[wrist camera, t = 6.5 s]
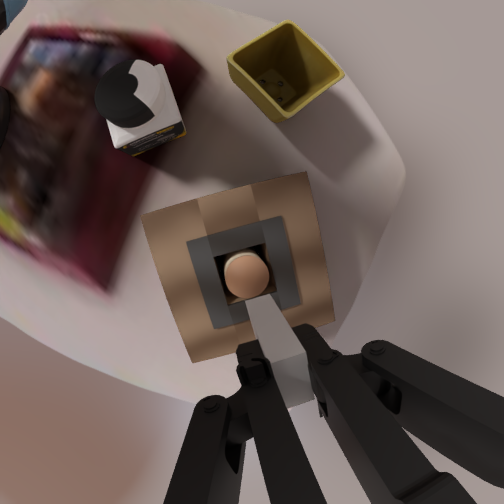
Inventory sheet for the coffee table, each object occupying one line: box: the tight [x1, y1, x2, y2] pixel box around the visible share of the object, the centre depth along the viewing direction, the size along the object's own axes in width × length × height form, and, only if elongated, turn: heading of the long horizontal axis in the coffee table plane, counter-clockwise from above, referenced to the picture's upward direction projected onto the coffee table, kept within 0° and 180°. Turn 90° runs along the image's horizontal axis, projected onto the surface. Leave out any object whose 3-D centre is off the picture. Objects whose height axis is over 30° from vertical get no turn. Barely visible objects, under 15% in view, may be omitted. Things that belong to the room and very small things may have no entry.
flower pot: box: [226, 20, 345, 123], centre depth 27 cm, size 9×9×9 cm
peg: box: [222, 247, 269, 298], centre depth 30 cm, size 4×4×8 cm
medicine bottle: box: [94, 60, 186, 156], centre depth 24 cm, size 7×7×12 cm
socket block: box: [140, 172, 335, 363], centre depth 31 cm, size 16×16×8 cm
